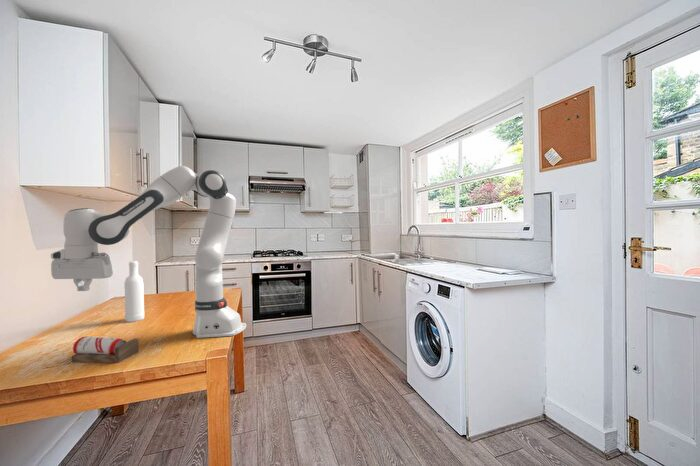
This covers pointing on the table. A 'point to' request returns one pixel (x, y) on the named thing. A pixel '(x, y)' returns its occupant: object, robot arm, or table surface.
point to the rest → (120, 355)
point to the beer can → (97, 345)
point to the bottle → (134, 294)
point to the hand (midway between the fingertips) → (83, 290)
